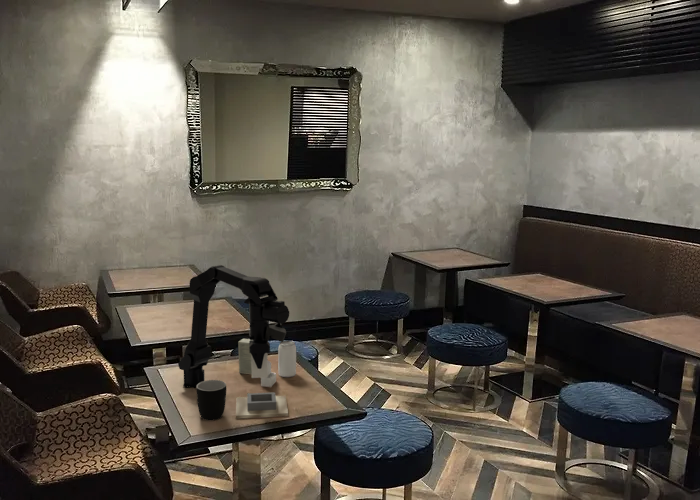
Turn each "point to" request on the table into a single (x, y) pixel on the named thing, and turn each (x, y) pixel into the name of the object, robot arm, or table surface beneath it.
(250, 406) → the back box
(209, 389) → the mug
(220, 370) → the table surface
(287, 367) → the can
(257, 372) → the grey block
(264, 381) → the white angled block
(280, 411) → the board
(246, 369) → the skincare box
